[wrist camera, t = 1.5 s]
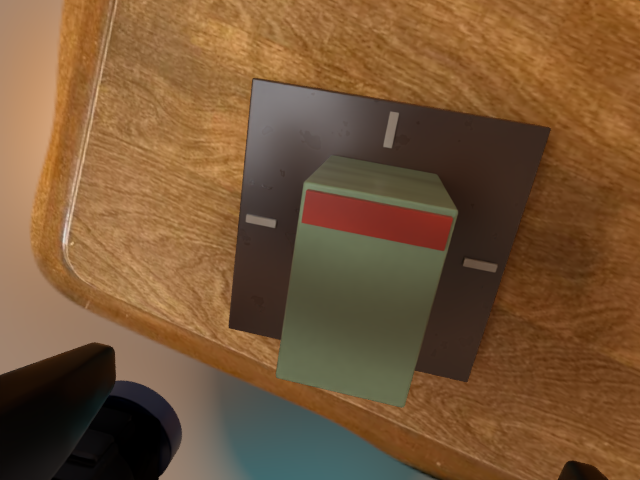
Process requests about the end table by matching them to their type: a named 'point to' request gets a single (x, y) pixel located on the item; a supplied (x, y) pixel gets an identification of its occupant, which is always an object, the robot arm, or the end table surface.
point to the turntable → (394, 150)
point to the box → (364, 277)
